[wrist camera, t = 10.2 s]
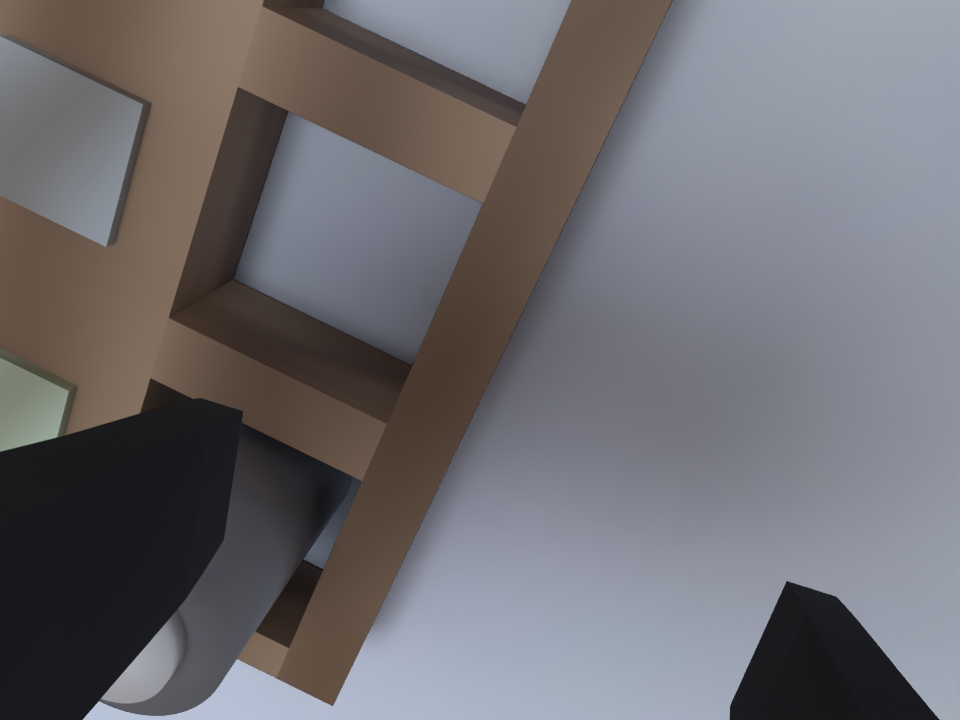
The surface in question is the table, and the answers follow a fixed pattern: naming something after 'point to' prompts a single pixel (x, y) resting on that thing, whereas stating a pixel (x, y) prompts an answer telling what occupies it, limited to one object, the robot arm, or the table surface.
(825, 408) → the table surface
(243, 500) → the plug
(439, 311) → the socket board
